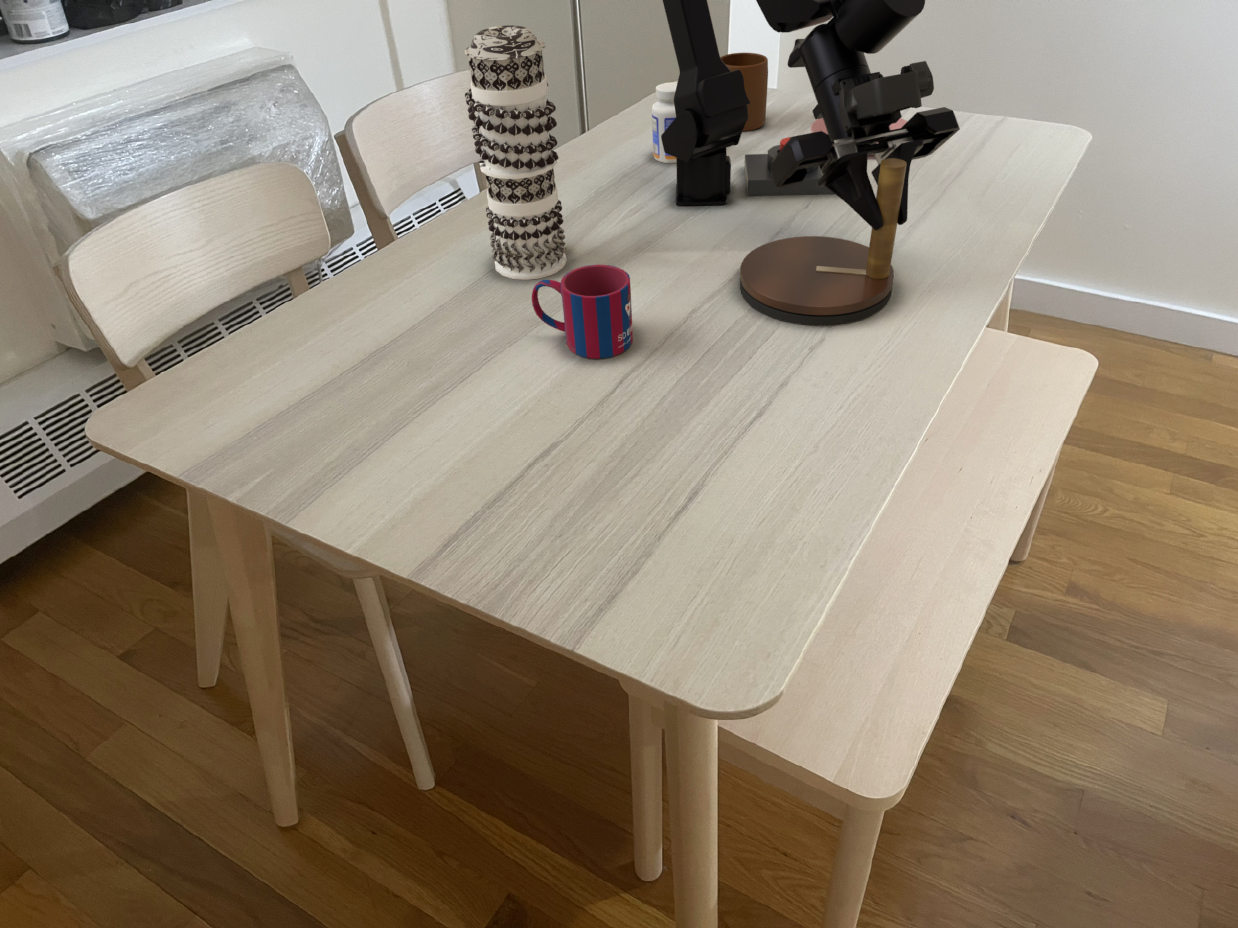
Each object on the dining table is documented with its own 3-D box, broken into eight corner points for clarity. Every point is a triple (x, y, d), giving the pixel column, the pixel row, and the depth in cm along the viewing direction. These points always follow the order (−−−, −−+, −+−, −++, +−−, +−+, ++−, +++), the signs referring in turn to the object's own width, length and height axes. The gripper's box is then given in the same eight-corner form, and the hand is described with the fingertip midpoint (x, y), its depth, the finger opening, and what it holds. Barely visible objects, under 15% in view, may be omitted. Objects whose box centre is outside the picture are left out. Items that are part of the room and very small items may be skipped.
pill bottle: (697, 153, 128) (698, 82, 121) (679, 166, 124) (678, 94, 118) (665, 147, 130) (663, 78, 124) (646, 160, 127) (643, 89, 120)
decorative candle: (482, 254, 106) (446, 27, 90) (555, 239, 108) (533, 15, 92) (502, 288, 99) (467, 49, 83) (580, 270, 102) (560, 35, 86)
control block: (747, 196, 115) (748, 166, 113) (744, 170, 122) (745, 140, 119) (841, 194, 114) (844, 163, 112) (832, 167, 121) (836, 138, 119)
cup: (618, 364, 86) (614, 301, 82) (526, 348, 89) (517, 287, 85) (642, 329, 91) (640, 268, 87) (554, 315, 94) (547, 256, 90)
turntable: (728, 307, 91) (731, 186, 83) (752, 239, 103) (757, 127, 95) (889, 322, 87) (910, 197, 79) (895, 249, 99) (914, 134, 91)
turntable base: (743, 326, 90) (743, 318, 90) (736, 255, 103) (737, 247, 102) (903, 325, 89) (905, 316, 88) (878, 252, 101) (879, 244, 101)
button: (780, 160, 115) (781, 146, 113) (778, 150, 117) (779, 136, 116) (808, 159, 114) (809, 146, 113) (805, 149, 117) (807, 136, 116)
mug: (732, 145, 129) (734, 77, 123) (689, 136, 133) (689, 70, 127) (774, 120, 136) (778, 55, 130) (732, 112, 140) (734, 49, 134)
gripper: (793, 47, 80) (848, 209, 78) (966, 19, 84) (1020, 170, 83) (748, 113, 90) (796, 256, 89) (903, 85, 95) (951, 220, 94)
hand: (891, 225), depth 88 cm, fingers closed on turntable, 2 cm apart
